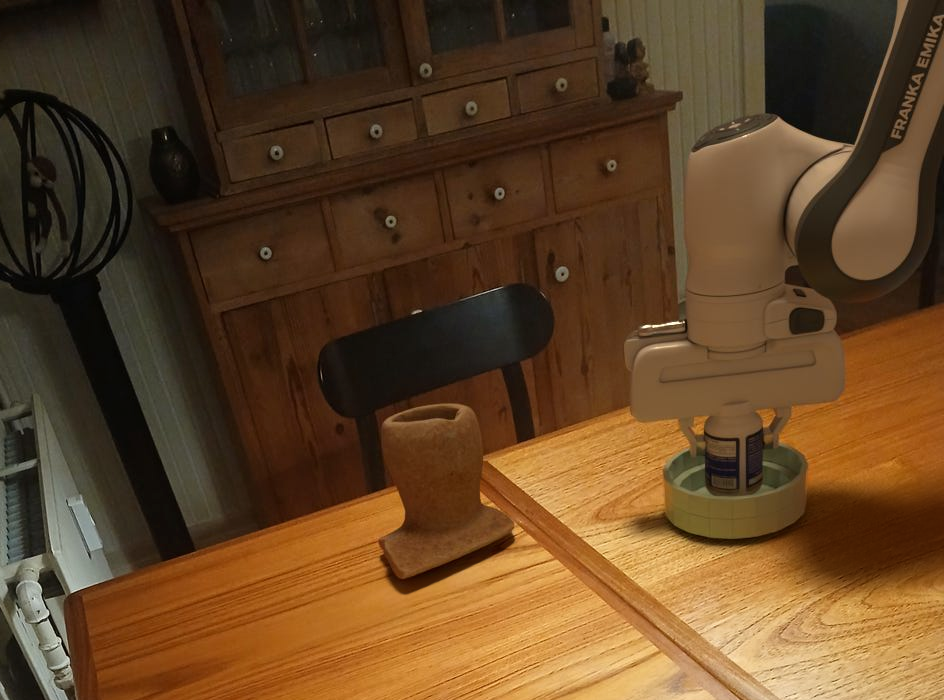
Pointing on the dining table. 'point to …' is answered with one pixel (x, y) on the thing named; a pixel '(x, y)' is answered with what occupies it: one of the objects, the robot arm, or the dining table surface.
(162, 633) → the dining table surface
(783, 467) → the bowl
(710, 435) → the pill bottle
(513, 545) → the dining table surface
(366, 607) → the dining table surface
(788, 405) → the robot arm
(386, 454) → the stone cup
